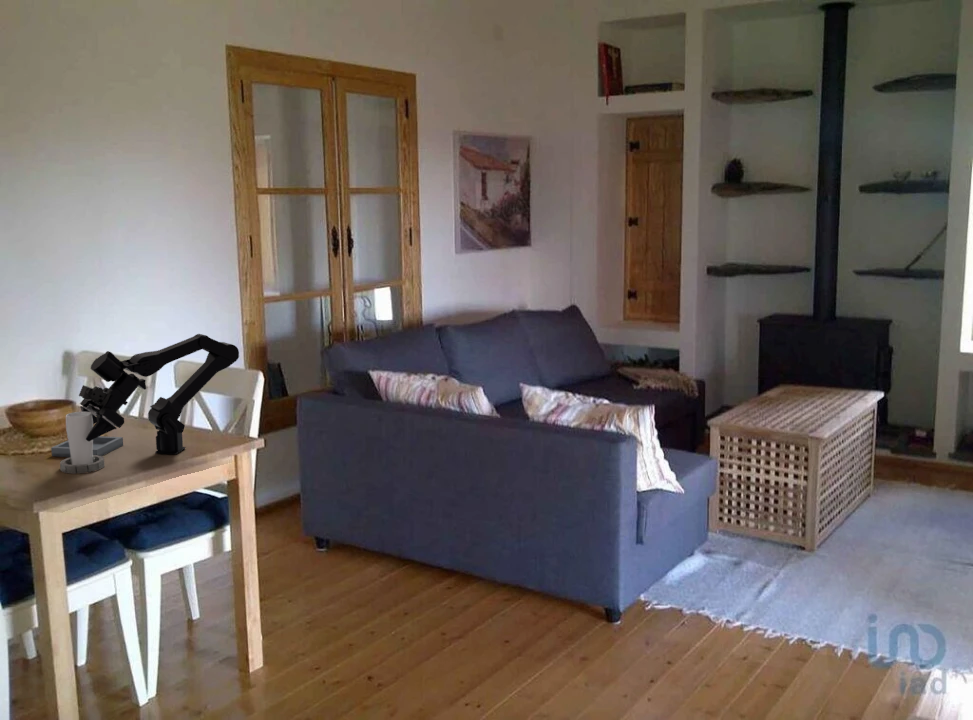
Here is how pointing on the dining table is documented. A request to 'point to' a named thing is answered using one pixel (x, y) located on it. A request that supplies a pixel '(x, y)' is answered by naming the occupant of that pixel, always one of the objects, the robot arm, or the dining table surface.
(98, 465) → the holder ring
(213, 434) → the dining table surface
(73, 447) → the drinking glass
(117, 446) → the tray
